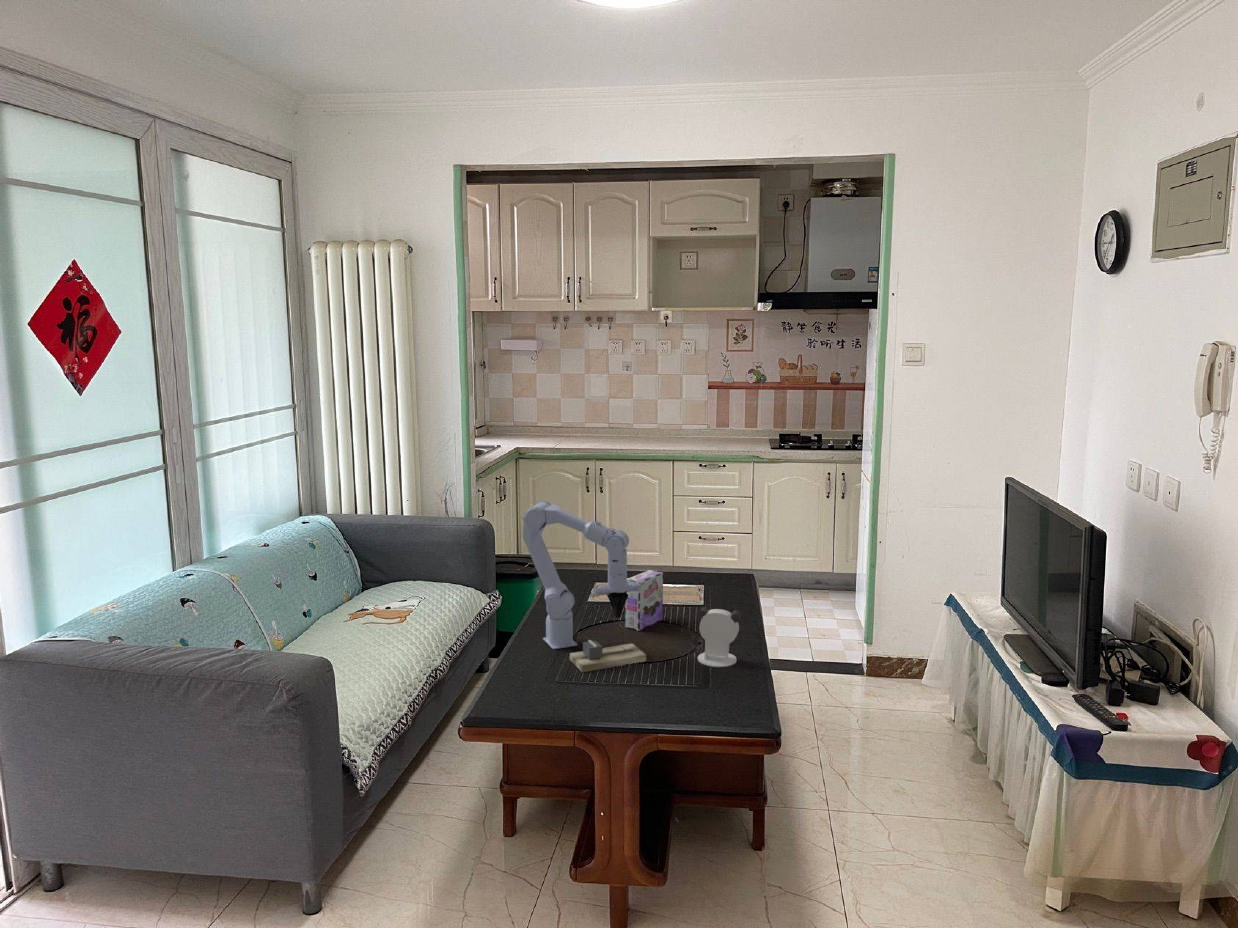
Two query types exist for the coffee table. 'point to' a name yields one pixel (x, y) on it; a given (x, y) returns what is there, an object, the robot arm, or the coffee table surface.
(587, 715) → the coffee table surface
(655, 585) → the candy box
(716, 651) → the panda figurine
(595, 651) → the fader tab
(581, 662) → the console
